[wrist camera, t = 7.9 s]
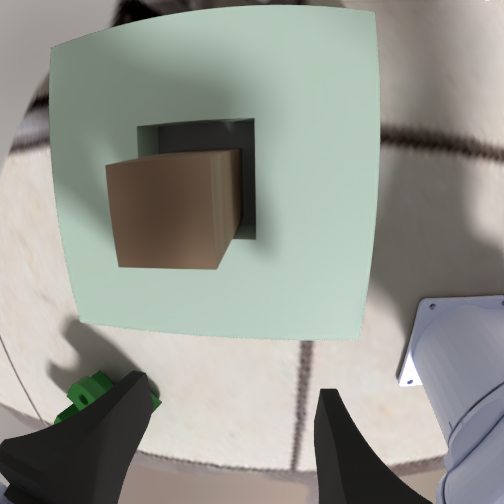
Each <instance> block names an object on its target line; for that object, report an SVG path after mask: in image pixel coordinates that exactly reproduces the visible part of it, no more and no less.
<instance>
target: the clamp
mask: <svg viewBox="0 0 504 504" xmlns="http://www.w3.org/2000/svg"><path fill="white" fill-rule="evenodd" d="M113 386H115V385H114V384H113V383H112V382H111V381H110V380H109V378H108V377H107V376H106V375H105V374H104V373H102V372H101V371H99V372H97V373H96V374H95V375H93V376H92V377H88V376H86V377H83V378H82V379H80V380H79V381H78V382H76V383H75V384H73V385H72V386H71V388H70V390H69V392H68V394H67V397H68V398H69V399H70V400H71V401H72V402H73V404H72V405H71V406H69V407H68V408H67V409H65V410H64V411H63V412H61V413H60V414H59V415H57V417H56V419H55V422H54V424H57V423H59V422H61V421H63V420H65V419H67V418H69V417H70V416H72V415H74V414H76V413H77V412H79V411H81V410H82V409H84V408H85V407H87V406H88V405H89V404H91V403H92V402H94V401H95V400H97V399H98V398H99V397H101V396H102V395H103V394H105V393H106V392H107V391H108V390H110V389H111V388H112V387H113ZM151 396H152V400H153V403H154V407H153V411H152V413H153V412H154V411H155V410H156V408H157V407H158V406H159V405H160V404H161V403H162V402H161V401H160V400H159V399H158V398H157V397H156V396H155V395H154V394H153V393H151Z"/></svg>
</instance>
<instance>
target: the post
mask: <svg viewBox="0 0 504 504" xmlns="http://www.w3.org/2000/svg"><path fill="white" fill-rule="evenodd" d="M105 170H106V181H107V191H108V200H109V208H110V216H111V223H112V230H113V237H114V243H115V250H116V256H117V261H118V267H122V268H158V269H202V270H217V268H218V266H219V264H220V262H221V260H222V258H223V256H224V254H225V252H226V250H227V248H228V246H229V244H230V242H231V240H232V238H233V236H234V234H235V232H236V230H237V228H238V227H239V225H240V223H241V221H242V219H243V217H244V208H243V178H242V148H223V149H203V150H188V151H174V152H168V153H163V154H157V155H152V156H147V157H142V158H137V159H132V160H127V161H122V162H117V163H113V164H108V165H105Z"/></svg>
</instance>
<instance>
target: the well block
mask: <svg viewBox="0 0 504 504" xmlns="http://www.w3.org/2000/svg"><path fill="white" fill-rule="evenodd" d="M49 128H50V148H51V163H52V174H53V184H54V193H55V201H56V208H57V215H58V222H59V228H60V234H61V240H62V245H63V250H64V255H65V260H66V265H67V270H68V274H69V279H70V283H71V287H72V291H73V295H74V299H75V303H76V307H77V311H78V314H79V318H80V321H81V322H82V323H88V324H95V325H102V326H110V327H118V328H126V329H134V330H143V331H152V332H162V333H173V334H184V335H197V336H210V337H226V338H245V339H270V340H359V339H360V334H361V328H362V322H363V317H364V310H365V304H366V298H367V291H368V284H369V277H370V269H371V261H372V252H373V243H374V233H375V223H376V211H377V197H378V180H379V157H380V81H379V60H378V44H377V32H376V21H375V12H372V11H365V10H357V9H348V8H338V7H326V6H308V5H255V6H237V7H224V8H214V9H205V10H197V11H189V12H183V13H176V14H171V15H165V16H160V17H155V18H150V19H145V20H140V21H136V22H132V23H128V24H124V25H120V26H116V27H112V28H109V29H105V30H102V31H98V32H95V33H92V34H89V35H85V36H83V37H80V38H77V39H73V40H71V41H68V42H65V43H62V44H60V45H57V46H54V47H52V48H51V59H50V79H49ZM223 148H242V178H243V208H244V217H243V219H242V221H241V223H240V225H239V227H238V228H237V230H236V232H235V234H234V236H233V238H232V240H231V242H230V244H229V246H228V248H227V250H226V252H225V254H224V256H223V258H222V260H221V262H220V264H219V266H218V268H217V270H202V269H158V268H122V267H118V261H117V256H116V250H115V243H114V237H113V230H112V223H111V216H110V208H109V200H108V191H107V181H106V170H105V165H108V164H113V163H117V162H122V161H127V160H132V159H137V158H142V157H147V156H152V155H157V154H163V153H168V152H174V151H188V150H203V149H223Z"/></svg>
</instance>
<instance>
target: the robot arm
mask: <svg viewBox="0 0 504 504" xmlns="http://www.w3.org/2000/svg"><path fill="white" fill-rule="evenodd" d="M503 300H504V295H497V296H477V297H452V298H425V299H423V300H421V302H420V303H419V306H418V311H417V315H416V319H415V323H414V327H413V331H412V335H411V338H410V342H409V346H408V349H407V353H406V356H405V359H404V363H403V366H402V369H401V373H400V376H399V379H398V384H399V386H402V387H404V386H414V385H423V387H424V389H425V391H426V394H427V396H428V398H429V401H430V403H431V406H432V408H433V410H434V413H435V415H436V418H437V420H438V423H439V425H440V428H441V430H442V433H443V435H444V438H445V440H446V443H447V446H448V448H449V450H448V453H447V454H446V455H445V457H444V458H443V461H444V464H445V467H446V470H447V473H446V474H445V475H444V476H443V477H442V478H441V480H440V482H439V484H438V487H437V491H436V504H504V301H503ZM502 301H503V303H502ZM433 303H434V305H433V306H432V307H430V305H431V304H433ZM409 380H410V381H409ZM153 407H154V403H153V400H152V396H151V392H150V388H149V384H148V380H147V376H146V373H143V372H137V371H132V372H131V373H129V374H128V375H127V376H126V377H125V378H123V379H122V380H121V381H120V382H118V383H117V384H116V385H115V386H113V387H112V388H111V389H110V390H108V391H107V392H106V393H105V394H103V395H102V396H101V397H99V398H98V399H97V400H95V401H94V402H92V403H91V404H89V405H88V406H87V407H85V408H84V409H82V410H81V411H79V412H77V413H76V414H74V415H72V416H70V417H69V418H67V419H65V420H63V421H61V422H59V423H57V424H54V425H52V426H50V427H48V428H45V429H43V430H40V431H37V432H34V433H31V434H28V435H24V436H19V437H15V438H10V439H5V440H4V441H3V442H2V443H1V444H0V473H1V474H2V475H3V476H4V477H5V478H6V480H7V481H8V482H9V483H10V485H9V486H8V488H7V487H6V486H5V485H4V484H2V483H1V482H0V504H118V499H119V496H120V492H121V489H122V485H123V482H124V479H125V476H126V472H127V470H128V467H129V465H130V462H131V460H132V458H133V456H134V454H135V452H136V450H137V448H138V445H139V443H140V441H141V439H142V437H143V435H144V433H145V431H146V428H147V426H148V424H149V421H150V418H151V414H152V411H153ZM314 447H315V456H316V465H317V475H318V485H319V504H433V503H432V502H430V501H429V500H427V499H426V498H424V497H423V496H421V495H419V494H418V493H417V492H415V491H414V490H412V489H411V488H410V487H409V486H408V485H406V484H405V483H404V482H403V481H402V480H400V478H398V477H397V476H396V475H395V474H394V473H393V472H392V471H391V470H390V469H389V468H388V467H387V466H386V465H385V464H384V463H383V462H382V461H381V459H380V458H379V457H378V456H377V455H376V454H375V452H374V451H373V450H372V449H371V447H370V446H369V445H368V443H367V442H366V440H365V439H364V437H363V436H362V435H361V433H360V431H359V430H358V428H357V427H356V425H355V423H354V422H353V420H352V418H351V417H350V415H349V413H348V411H347V409H346V407H345V405H344V403H343V401H342V399H341V397H340V395H339V392H338V390H337V389H320V394H319V400H318V405H317V410H316V415H315V420H314Z"/></svg>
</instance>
